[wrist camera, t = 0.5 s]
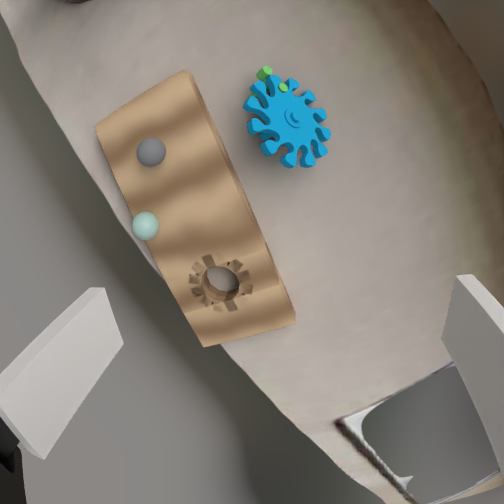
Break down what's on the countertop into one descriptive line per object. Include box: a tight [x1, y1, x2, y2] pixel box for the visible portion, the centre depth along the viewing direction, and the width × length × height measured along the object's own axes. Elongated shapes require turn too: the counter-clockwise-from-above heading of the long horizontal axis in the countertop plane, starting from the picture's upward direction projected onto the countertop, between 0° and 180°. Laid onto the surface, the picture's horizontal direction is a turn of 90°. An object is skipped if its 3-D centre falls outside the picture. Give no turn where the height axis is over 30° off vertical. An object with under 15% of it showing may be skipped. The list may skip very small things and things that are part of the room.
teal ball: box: [132, 212, 159, 240], centre depth 34 cm, size 3×3×3 cm
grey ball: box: [136, 137, 166, 167], centre depth 31 cm, size 3×3×3 cm
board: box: [94, 70, 296, 347], centre depth 36 cm, size 32×13×2 cm, turn 23°
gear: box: [243, 66, 331, 168], centre depth 30 cm, size 11×6×10 cm
